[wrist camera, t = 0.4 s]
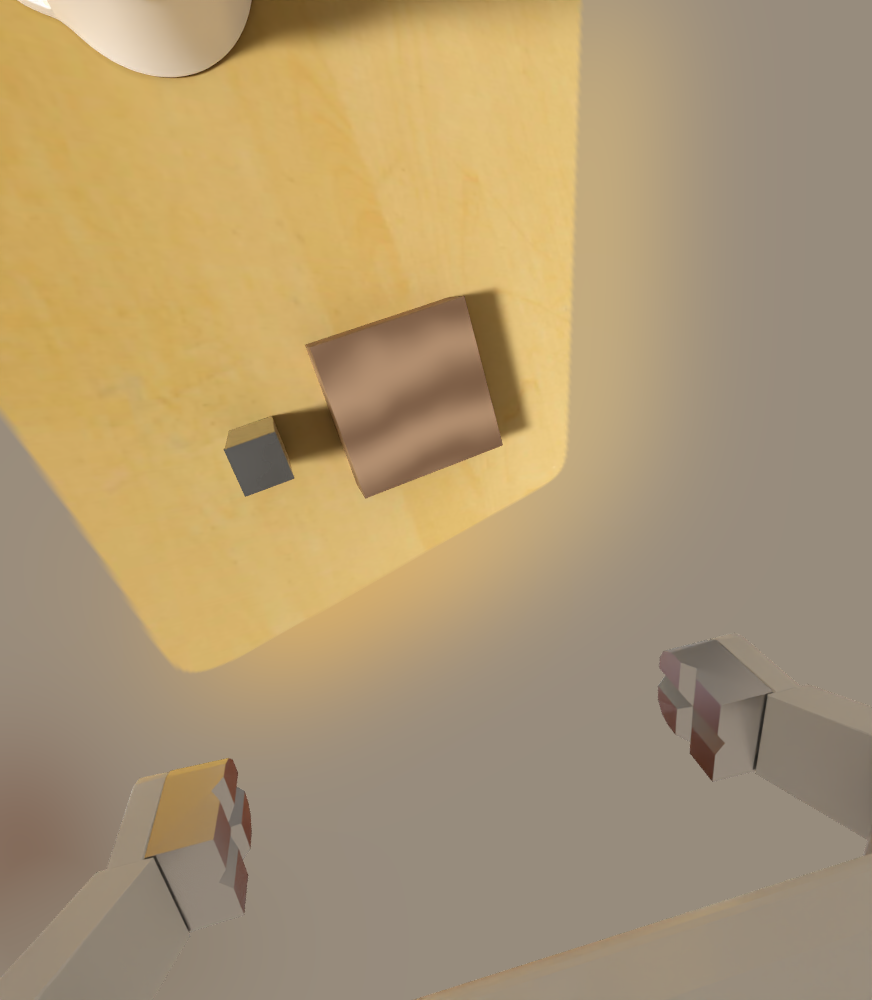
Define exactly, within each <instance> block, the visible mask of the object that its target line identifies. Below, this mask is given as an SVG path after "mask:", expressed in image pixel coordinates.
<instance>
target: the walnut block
mask: <svg viewBox="0 0 872 1000" xmlns="http://www.w3.org/2000/svg"><path fill="white" fill-rule="evenodd" d="M305 346H306V348H307V351H308V354H309V356H310V359H311V362H312V365H313V367H314V370H315V373H316V375H317V378H318V381H319V383H320V386H321V389H322V392H323V394H324V397H325V400H326V402H327V405H328V408H329V410H330V413H331V416H332V418H333V421H334V424H335V427H336V429H337V432H338V435H339V437H340V440H341V443H342V445H343V448H344V451H345V453H346V456H347V459H348V462H349V464H350V467H351V470H352V472H353V475H354V478H355V480H356V483H357V485H358V487H359V489H360V490H361V492H362V494H363V495H364V497H365V498H368V497H370V496H373V495H375V494H378V493H381V492H383V491H386V490H388V489H391V488H394V487H396V486H399V485H401V484H404V483H406V482H409V481H412V480H414V479H417V478H419V477H422V476H425V475H427V474H430V473H432V472H435V471H437V470H440V469H443V468H445V467H448V466H450V465H453V464H456V463H458V462H461V461H463V460H466V459H468V458H471V457H474V456H476V455H479V454H481V453H484V452H486V451H489V450H492V449H494V448H497V447H499V446H502V445H503V444H502V440H501V436H500V432H499V429H498V425H497V421H496V417H495V413H494V409H493V405H492V401H491V398H490V394H489V390H488V386H487V382H486V378H485V374H484V370H483V367H482V363H481V359H480V355H479V351H478V347H477V343H476V339H475V336H474V332H473V328H472V324H471V320H470V316H469V312H468V308H467V305H466V301H465V297H464V296H459V297H448V298H445V299H442V300H439V301H436V302H433V303H430V304H427V305H424V306H421V307H418V308H415V309H412V310H409V311H406V312H403V313H400V314H397V315H394V316H391V317H388V318H385V319H382V320H379V321H376V322H373V323H370V324H367V325H364V326H361V327H358V328H355V329H352V330H349V331H346V332H343V333H340V334H337V335H334V336H331V337H328V338H324V339H321V340H318V341H315V342H312V343H309V344H306V345H305Z"/></svg>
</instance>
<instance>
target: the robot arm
mask: <svg viewBox="0 0 872 1000" xmlns="http://www.w3.org/2000/svg"><path fill="white" fill-rule="evenodd" d="M18 1H19V2H20V3H22V4H24V5H26V6H28V7H30V8H32V9H34V10H36V11H38V12H41V13H43V14H46V15H48V16H51V17H53V18H56V19H58V20H60V21H61V22H63V23H64V24H65V25H67V26H68V27H69V28H70V29H72V30H73V31H74V32H75V33H76V34H77V35H78V36H80V37H81V38H82V39H83V40H84V41H85V42H86V43H88V44H89V45H90V46H91V47H93V48H94V49H95V50H96V51H98V52H99V53H101V54H102V55H104V56H105V57H107V58H109V59H110V60H112V61H114V62H116V63H117V64H119V65H121V66H124V67H126V68H128V69H131V70H134V71H136V72H140V73H143V74H147V75H152V76H159V77H180V76H187V75H191V74H195V73H198V72H200V71H203V70H205V69H207V68H209V67H211V66H212V65H214V64H216V63H217V62H218V61H220V60H221V59H222V58H223V57H224V56H225V55H226V54H227V53H228V52H229V51H230V50H231V49H232V48H233V46H234V45H235V44H236V42H237V40H238V39H239V37H240V35H241V33H242V31H243V29H244V27H245V24H246V21H247V18H248V15H249V11H250V6H251V1H252V0H18ZM659 668H660V669H661V671H662V672H663V673H664V674H665V677H664V678H663V680H662V681H661V683H660V684H659V685H658V702H659V705H660V709H661V712H662V715H663V717H664V719H665V721H666V722H667V724H668V726H669V727H670V728H671V729H672V731H673V732H674V734H675V735H677V736H679V737H681V738H683V739H685V740H687V741H689V742H690V754H691V755H692V757H693V758H694V759H695V761H696V762H697V763H698V764H699V766H700V767H701V768H702V769H703V771H704V772H705V773H706V774H707V776H708V777H709V778H710V780H711V781H712V782H714V781H718V780H722V779H726V778H730V777H734V776H738V775H742V774H746V773H750V772H754V771H756V773H755V774H757V775H759V776H760V777H762V778H764V779H765V780H767V781H769V782H770V783H772V784H774V785H776V786H777V787H779V788H781V789H782V790H784V791H786V792H787V793H789V794H791V795H792V796H794V797H796V798H797V799H799V800H801V801H803V802H804V803H806V804H807V805H809V806H811V807H813V808H814V809H816V810H818V811H819V812H821V813H823V814H824V815H826V816H828V817H829V818H831V819H833V820H835V821H836V822H838V823H840V824H841V825H843V826H845V827H847V828H848V829H850V830H851V831H853V832H855V833H856V834H858V835H860V836H862V837H863V838H865V839H867V843H866V847H865V851H864V854H863V856H862V857H859V858H856V859H853V860H850V861H846V862H843V863H840V864H837V865H834V866H831V867H828V868H824V869H821V870H818V871H815V872H812V873H809V874H806V875H803V876H799V877H796V878H793V879H790V880H787V881H784V882H780V883H777V884H774V885H771V886H768V887H765V888H762V889H759V890H755V891H753V892H749V893H746V894H743V895H740V896H737V897H734V898H730V899H727V900H724V901H721V902H718V903H715V904H712V905H708V906H706V907H703V908H699V909H696V910H693V911H690V912H687V913H684V914H680V915H677V916H674V917H671V918H668V919H665V920H662V921H659V922H655V923H653V924H649V925H646V926H643V927H640V928H637V929H633V930H631V931H627V932H624V933H621V934H618V935H615V936H612V937H609V938H605V939H602V940H599V941H596V942H593V943H590V944H586V945H583V946H580V947H577V948H574V949H571V950H568V951H565V952H561V953H558V954H555V955H552V956H549V957H546V958H543V959H539V960H536V961H533V962H530V963H527V964H524V965H521V966H517V967H514V968H511V969H508V970H505V971H502V972H499V973H496V974H492V975H490V976H486V977H483V978H480V979H477V980H474V981H470V982H467V983H464V984H461V985H458V986H455V987H452V988H449V989H445V990H442V991H439V992H436V993H433V994H430V995H427V996H423V997H420V998H417V999H414V1000H872V707H871V706H868V705H865V704H863V703H860V702H857V701H854V700H851V699H849V698H846V697H843V696H840V695H837V694H835V693H832V692H829V691H826V690H823V689H820V688H818V687H815V686H812V685H809V684H807V685H802V686H800V685H799V684H798V683H797V682H796V681H794V680H793V679H792V678H791V677H790V676H789V675H787V674H786V673H785V672H784V671H782V670H781V669H780V668H779V667H778V666H777V665H776V664H774V663H773V662H772V661H771V660H770V659H768V658H767V657H766V656H765V655H764V654H763V653H762V652H760V651H759V650H758V649H757V648H755V647H754V646H753V645H752V644H751V643H750V642H749V641H747V640H746V639H745V638H744V637H743V636H741V635H739V634H736V633H731V634H727V635H724V636H720V637H715V638H712V639H710V640H704V641H701V642H697V643H693V644H689V645H686V646H681V647H677V648H673V649H669V650H665V651H663V652H662V654H661V656H660V663H659ZM237 778H238V771H237V769H236V766H235V764H234V761H233V759H230V758H226V759H222V760H218V761H213V762H208V763H204V764H199V765H195V766H190V767H186V768H181V769H176V770H172V771H170V772H167V773H161V774H157V775H152V776H148V777H143V778H140V779H139V780H138V781H137V783H136V784H135V785H134V787H133V790H132V792H131V795H130V798H129V801H128V804H127V807H126V811H125V813H124V817H123V820H122V823H121V826H120V829H119V832H118V835H117V838H116V841H115V844H114V847H113V850H112V853H111V856H110V860H109V863H108V865H107V868H106V870H104V871H100V872H96V873H95V874H94V875H93V877H92V878H91V879H90V880H89V881H88V882H87V883H86V884H85V885H84V887H83V888H82V889H81V890H80V891H79V892H78V893H77V894H76V895H75V896H74V898H73V899H72V900H71V901H70V902H69V903H68V904H67V905H66V906H65V907H64V909H63V910H62V911H61V912H60V913H59V914H58V915H57V916H56V917H55V918H54V920H53V921H52V922H51V923H50V924H49V925H48V926H47V927H46V928H45V929H44V931H43V932H42V933H41V934H40V935H39V936H38V937H37V938H36V939H35V940H34V942H33V943H32V944H31V945H30V946H29V947H28V948H27V949H26V950H25V952H24V953H23V954H22V955H21V956H20V957H19V958H18V959H17V960H16V962H15V963H14V964H13V965H12V966H11V967H10V968H9V969H8V970H7V971H6V972H5V973H4V975H3V976H2V977H1V978H0V1000H153V999H154V997H155V995H156V994H157V992H158V990H159V988H160V987H161V985H162V983H163V982H164V980H165V978H166V977H167V975H168V973H169V971H170V969H171V968H172V966H173V964H174V963H175V961H176V959H177V958H178V956H179V954H180V952H181V951H182V949H183V947H184V946H185V944H186V942H187V941H188V939H189V937H190V934H189V933H190V932H192V931H196V930H199V929H202V928H205V927H209V926H212V925H214V924H218V923H221V922H224V921H227V920H231V919H234V918H237V917H240V916H243V915H244V913H245V903H246V893H247V882H248V873H247V870H246V867H245V865H244V862H243V859H244V858H245V856H246V855H247V854H248V852H249V851H250V849H251V837H252V828H251V813H250V808H249V803H248V799H247V796H246V793H245V791H244V790H242V789H240V788H238V787H237Z"/></svg>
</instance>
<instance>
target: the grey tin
mask: <svg viewBox="0 0 872 1000" xmlns="http://www.w3.org/2000/svg"><path fill="white" fill-rule="evenodd" d="M224 451H225V453H226V456H227V458H228V460H229V462H230V464H231V467H232V469H233V471H234V473H235V475H236V478H237V480H238V482H239V484H240V486H241V489H242V491H243V493H244V495H245V497H246V496H249V495H251V494H254V493H257V492H259V491H262V490H265V489H268V488H270V487H273V486H276V485H278V484H281V483H284V482H286V481H289V480H292V479H294V476H293V473H292V469H291V465H290V461H289V457H288V454H287V451H286V449H285V447H284V444H283V442H282V439H281V437H280V434H279V432H278V430H277V427H276V425H275V422H274V420H273V417H272V416H270V417H267V418H264V419H261V420H258V421H256V422H253V423H250V424H247V425H244V426H241V427H238V428H236V429H233V430H230V431H229V433H228V437H227V442H226V446H225V448H224Z"/></svg>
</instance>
